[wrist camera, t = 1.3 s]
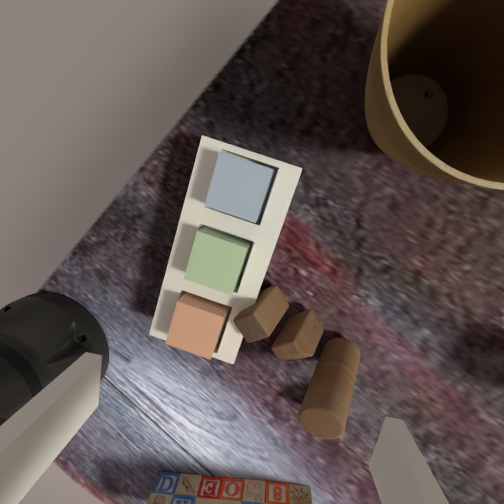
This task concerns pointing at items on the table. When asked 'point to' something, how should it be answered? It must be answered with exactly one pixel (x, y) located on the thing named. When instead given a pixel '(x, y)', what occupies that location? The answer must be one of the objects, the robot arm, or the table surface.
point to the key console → (202, 216)
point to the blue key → (238, 187)
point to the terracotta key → (197, 325)
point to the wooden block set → (302, 346)
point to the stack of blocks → (224, 491)
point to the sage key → (216, 260)
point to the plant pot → (440, 88)
